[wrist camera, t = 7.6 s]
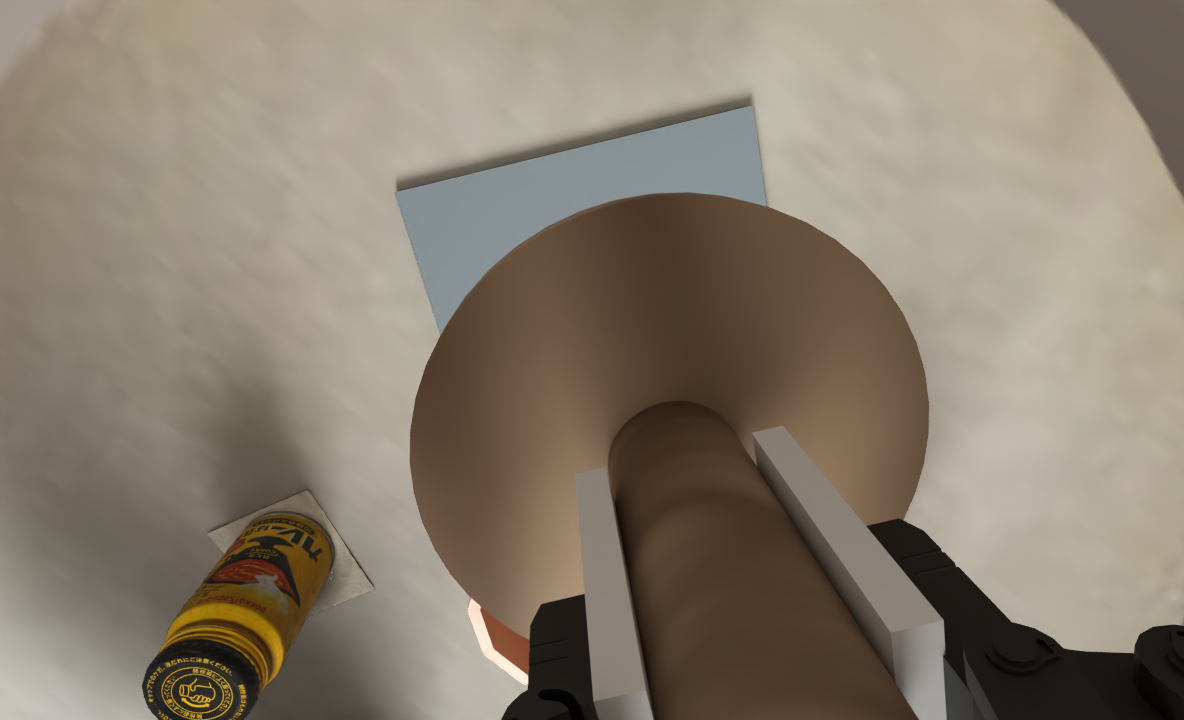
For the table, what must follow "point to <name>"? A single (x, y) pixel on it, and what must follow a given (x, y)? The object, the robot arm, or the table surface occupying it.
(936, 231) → the table surface
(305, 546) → the condiment
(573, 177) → the mat
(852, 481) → the lid
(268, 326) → the table surface
